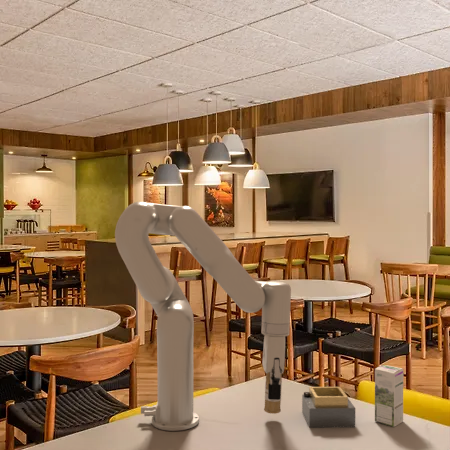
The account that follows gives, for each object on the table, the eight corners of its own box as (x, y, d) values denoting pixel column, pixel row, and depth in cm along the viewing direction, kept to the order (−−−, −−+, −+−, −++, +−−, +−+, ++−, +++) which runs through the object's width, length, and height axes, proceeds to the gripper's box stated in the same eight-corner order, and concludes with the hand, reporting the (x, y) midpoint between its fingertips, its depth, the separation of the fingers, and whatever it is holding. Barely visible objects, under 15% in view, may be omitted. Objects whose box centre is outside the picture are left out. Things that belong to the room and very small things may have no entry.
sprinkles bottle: (262, 408, 150) (264, 359, 149) (279, 408, 150) (281, 359, 150) (265, 414, 145) (267, 364, 145) (282, 414, 146) (284, 364, 145)
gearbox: (309, 427, 142) (309, 399, 142) (302, 412, 153) (302, 385, 153) (355, 427, 143) (355, 398, 143) (344, 411, 154) (345, 385, 154)
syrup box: (403, 421, 147) (404, 367, 147) (393, 427, 143) (394, 372, 142) (384, 416, 151) (384, 363, 150) (373, 422, 146) (374, 368, 146)
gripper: (258, 321, 155) (256, 385, 156) (264, 334, 139) (262, 406, 139) (285, 322, 156) (282, 386, 156) (294, 335, 139) (291, 407, 139)
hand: (273, 395), depth 148 cm, fingers closed on sprinkles bottle, 4 cm apart
